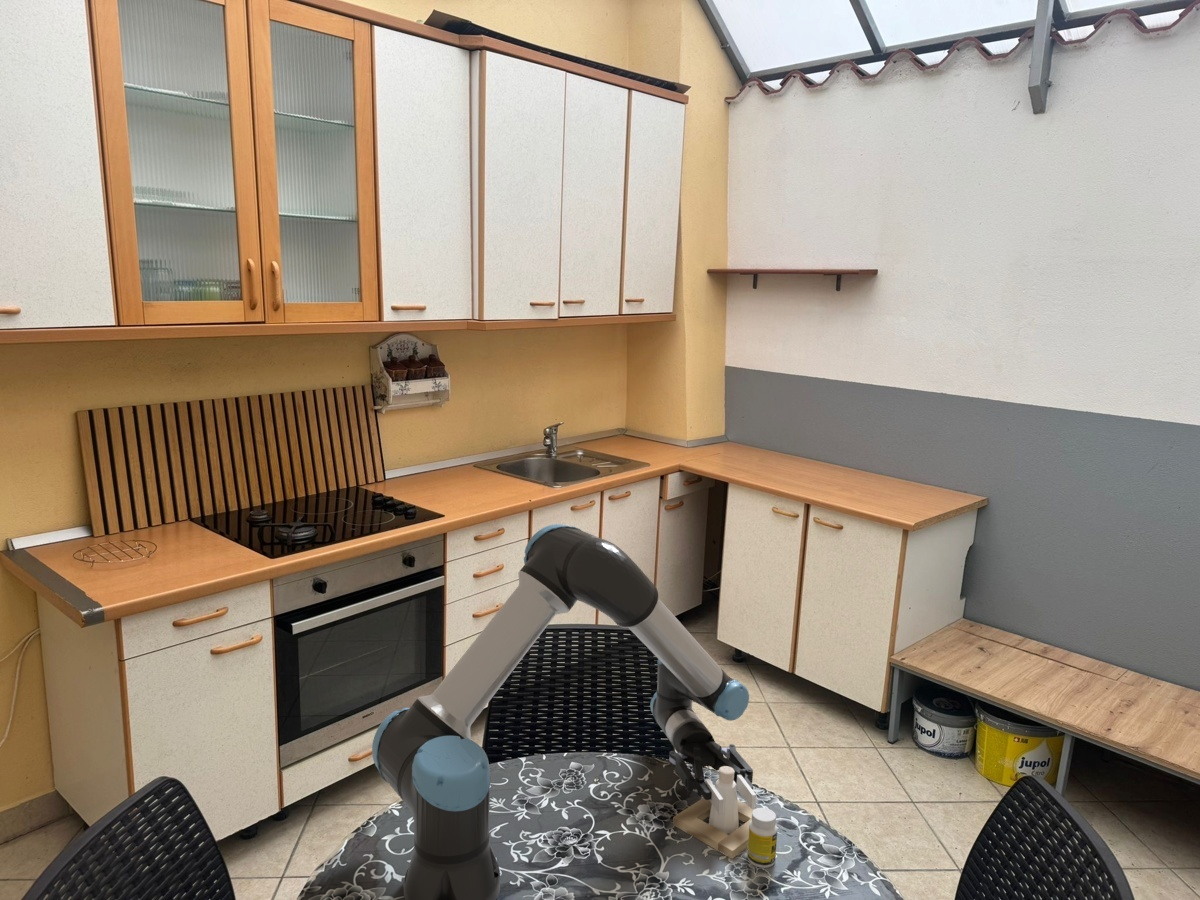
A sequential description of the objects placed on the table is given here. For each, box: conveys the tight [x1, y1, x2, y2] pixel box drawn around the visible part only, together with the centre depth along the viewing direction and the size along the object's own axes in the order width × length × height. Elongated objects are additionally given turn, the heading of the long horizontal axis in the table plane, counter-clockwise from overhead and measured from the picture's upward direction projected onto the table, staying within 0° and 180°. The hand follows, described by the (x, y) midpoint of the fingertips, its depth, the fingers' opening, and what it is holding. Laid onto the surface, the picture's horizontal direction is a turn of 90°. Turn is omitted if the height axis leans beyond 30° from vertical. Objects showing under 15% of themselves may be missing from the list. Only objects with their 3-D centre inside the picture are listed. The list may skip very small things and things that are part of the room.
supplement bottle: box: [746, 807, 778, 869], centre depth 140 cm, size 5×5×8 cm
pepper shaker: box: [708, 766, 740, 835], centre depth 149 cm, size 5×5×11 cm
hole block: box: [672, 797, 754, 860], centre depth 149 cm, size 13×13×2 cm
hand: (737, 804), depth 143 cm, fingers open, 5 cm apart
